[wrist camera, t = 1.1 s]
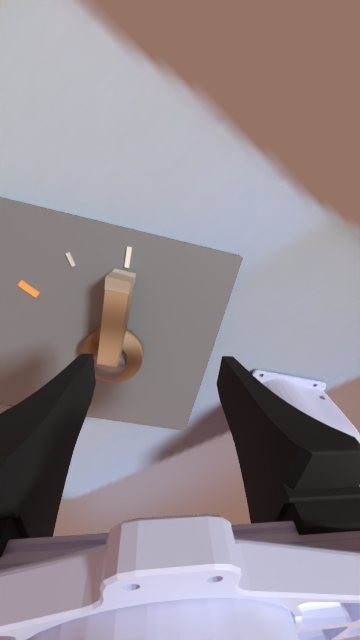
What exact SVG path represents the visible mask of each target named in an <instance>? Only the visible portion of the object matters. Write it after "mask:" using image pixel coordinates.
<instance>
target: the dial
mask: <svg viewBox="0 0 360 640" xmlns="http://www.w3.org/2000/svg"><path fill="white" fill-rule="evenodd" d="M135 278H136V273H133V272H128V271H124V270H119V269H114V270H113V271H112V272H110V273H109V274H108V275H107V276H106V278H105V287H104V289H105V295H104V304H103V313H102V322H101V327H100V328H98V329H96V330H94V331H93V332H92V333H91V334H90V335H89V336H88V338H87V339H86V341H85V342H84V344H83V345H82V348H81V353H82V354H93V358H94V369H95V377H96V378H98V379H100V380H103V381H107V382H122V381H125V380H128V379H130V378H132V377H133V376H134V375H135V374H136V373H137V372H138V371H139V369H140V367H141V364H142V360H143V354H144V351H143V346H142V343H141V341H140V340H139V338H138V337H137V336H136V335H135V334H134V333H133V332H131V331H130V330H128V329H127V325H128V318H129V312H130V306H131V299H132V293H133V287H134V284H135Z"/></svg>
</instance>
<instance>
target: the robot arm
mask: <svg viewBox="0 0 360 640" xmlns="http://www.w3.org/2000/svg"><path fill="white" fill-rule="evenodd" d="M260 374H262V375H260ZM95 385H96V379H95V369H94V358H93V354H82V353H81V354H80V355H79V356H78V357H77V358H76V359H74V360H73V361H72V362H71V363H70V364H69V365H68V366H67V367H66V368H64V369H63V370H62V371H61V372H60V373H59V374H58V375H56V376H55V377H54V378H53V379H52V380H50V381H49V382H48V383H46V384H45V385H44V386H43V387H41V388H40V389H39V390H37V391H36V392H35V393H33V394H32V395H30V396H29V397H27V398H26V399H24V400H23V401H21V402H19V403H18V404H16V405H15V406H13V407H11V408H9V409H8V410H6V411H4V412H2V413H1V414H0V640H340V639H341V640H360V435H359V433H358V431H357V430H356V428H355V427H354V426H353V424H352V423H351V422H350V421H349V420H348V419H347V418H346V416H345V415H344V414H343V413H342V412H341V411H340V409H339V408H338V407H337V406H336V405H335V404H334V403H333V401H332V400H331V399H330V398H329V397H328V396H327V394H326V393H325V392H324V390H325V388H326V384H325V383H324V382H321V381H316V380H311V379H305V378H300V377H294V376H289V375H283V374H278V373H273V372H267V371H262V370H254V371H253V373H252V374H251V373H250V372H249V371H248V370H247V369H245V368H244V367H243V366H242V365H241V364H240V363H239V362H238V361H237V360H236V359H235V358H234V357H230V356H222V360H221V365H220V370H219V375H218V380H217V388H218V393H219V398H220V401H221V404H222V407H223V410H224V413H225V416H226V419H227V422H228V425H229V427H230V430H231V433H232V436H233V440H234V443H235V447H236V451H237V455H238V459H239V463H240V468H241V472H242V478H243V482H244V487H245V492H246V497H247V503H248V508H249V514H250V520H251V524H238V525H231V523H230V522H229V521H228V520H226V519H225V518H223V517H221V516H219V515H209V514H203V515H186V516H169V517H152V518H138V519H133V520H128V521H123V522H122V523H120V524H118V525H117V526H115V527H113V528H112V529H111V530H110V533H102V534H87V535H74V536H73V535H72V536H56V537H53V533H54V528H55V523H56V519H57V514H58V510H59V506H60V502H61V497H62V493H63V489H64V485H65V481H66V477H67V473H68V469H69V465H70V462H71V458H72V454H73V451H74V447H75V444H76V441H77V438H78V435H79V433H80V430H81V428H82V425H83V422H84V420H85V417H86V414H87V412H88V409H89V406H90V404H91V401H92V398H93V393H94V389H95Z"/></svg>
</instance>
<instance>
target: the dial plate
mask: <svg viewBox="0 0 360 640" xmlns="http://www.w3.org/2000/svg"><path fill="white" fill-rule="evenodd" d="M242 259H243V257H241V256H239V255H236V254H232V253H227V252H223V251H219V250H215V249H211V248H207V247H203V246H199V245H195V244H191V243H186V242H182V241H178V240H174V239H170V238H166V237H162V236H158V235H154V234H150V233H145V232H141V231H137V230H133V229H129V228H125V227H121V226H117V225H113V224H109V223H105V222H100V221H96V220H92V219H88V218H84V217H80V216H76V215H72V214H68V213H64V212H59V211H55V210H51V209H47V208H43V207H39V206H35V205H31V204H27V203H23V202H18V201H14V200H10V199H6V198H2V197H0V404H3V405H10V406H15V405H16V404H18V403H19V402H21V401H23V400H24V399H26V398H27V397H29V396H30V395H32V394H33V393H35V392H36V391H37V390H39V389H40V388H41V387H43V386H44V385H45V384H46V383H48V382H49V381H50V380H52V379H53V378H54V377H55V376H56V375H58V374H59V373H60V372H61V371H62V370H63V369H64V368H66V367H67V366H68V365H69V364H70V363H71V362H72V361H73V360H74V359H76V358H77V357H78V356H79V355H80V354H81V348H82V345H83V344H84V342H85V341H86V339H87V338H88V336H89V335H90V334H91V333H92V332H93V331H94V330H96V329H98V328H100V327H101V322H102V313H103V304H104V295H105V289H104V287H105V278H106V276H107V275H108V274H109V273H110V272H112V271H113V270H114V269H119V270H124V271H128V272H133V273H136V278H135V284H134V287H133V293H132V299H131V306H130V312H129V318H128V325H127V329H128V330H130V331H131V332H133V333H134V334H135V335H136V336H137V337H138V338H139V340H140V341H141V343H142V346H143V351H144V354H143V360H142V364H141V367H140V369H139V371H138V372H137V373H136V374H135V375H134V376H133V377H132V378H130V379H128V380H125V381H122V382H107V381H103V380H100V379H98V378H96V377H95V379H96V385H95V389H94V393H93V398H92V401H91V404H90V406H89V409H88V412H87V414H86V417H93V418H100V419H107V420H114V421H121V422H128V423H134V424H141V425H148V426H155V427H162V428H169V429H176V430H183V431H185V430H186V427H187V424H188V421H189V418H190V415H191V412H192V409H193V406H194V403H195V400H196V397H197V394H198V391H199V388H200V385H201V382H202V379H203V376H204V373H205V370H206V367H207V364H208V361H209V358H210V355H211V352H212V349H213V346H214V343H215V340H216V337H217V334H218V331H219V328H220V325H221V322H222V319H223V316H224V313H225V310H226V307H227V304H228V301H229V298H230V295H231V292H232V289H233V286H234V283H235V280H236V277H237V274H238V271H239V268H240V265H241V262H242Z"/></svg>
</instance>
